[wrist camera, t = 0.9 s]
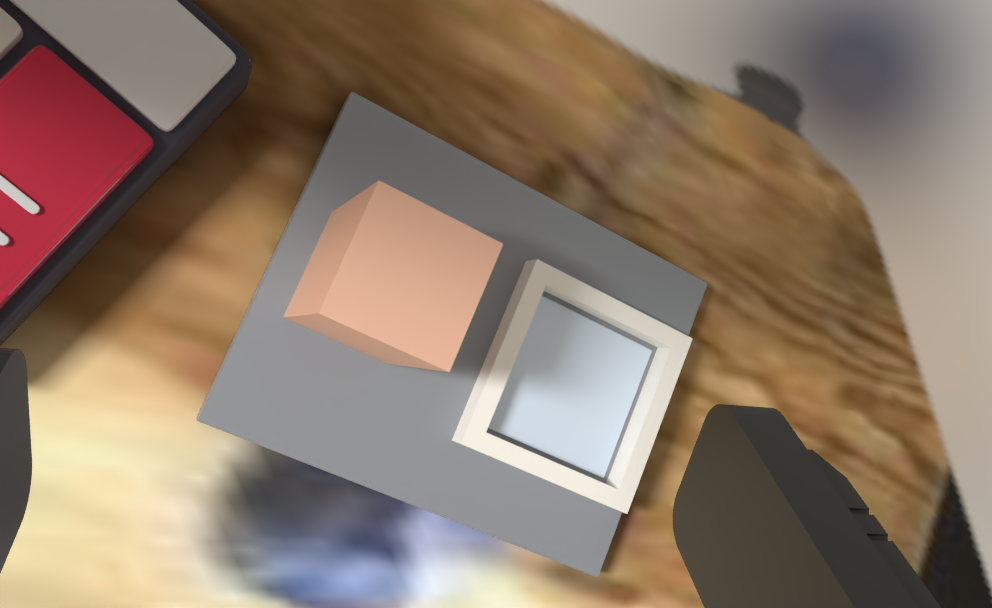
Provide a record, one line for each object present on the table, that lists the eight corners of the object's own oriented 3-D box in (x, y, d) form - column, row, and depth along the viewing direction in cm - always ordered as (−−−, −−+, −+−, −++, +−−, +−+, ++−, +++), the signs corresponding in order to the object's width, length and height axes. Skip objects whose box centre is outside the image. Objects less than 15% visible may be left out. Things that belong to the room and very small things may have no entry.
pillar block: (283, 317, 35) (318, 313, 27) (331, 212, 35) (378, 180, 28) (388, 363, 36) (449, 372, 28) (432, 261, 37) (503, 244, 29)
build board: (196, 418, 34) (199, 424, 32) (345, 98, 37) (358, 83, 35) (585, 570, 40) (610, 584, 38) (693, 284, 42) (723, 281, 40)
